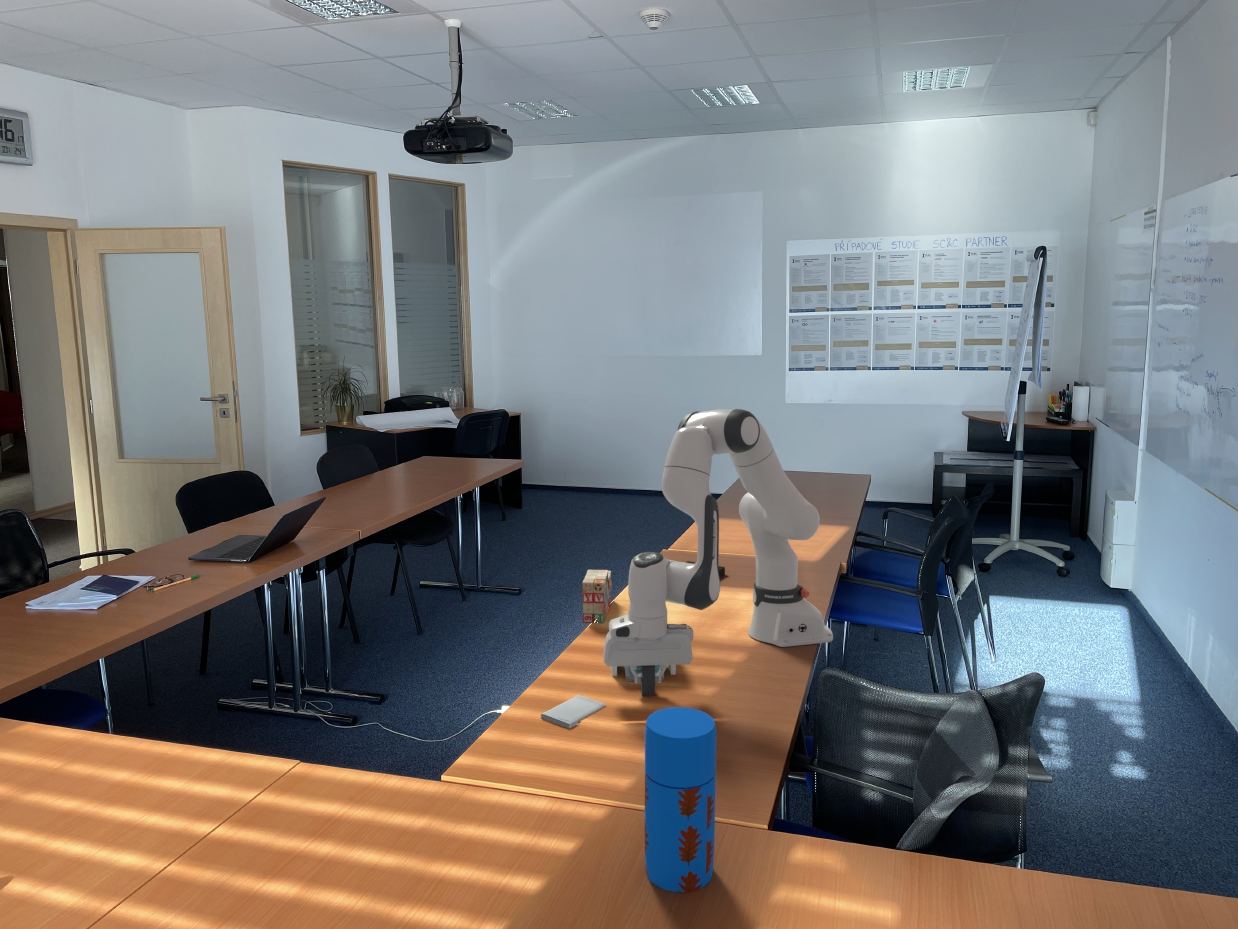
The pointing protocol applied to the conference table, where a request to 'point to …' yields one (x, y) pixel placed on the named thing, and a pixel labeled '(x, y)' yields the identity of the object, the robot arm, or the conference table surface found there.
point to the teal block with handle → (644, 678)
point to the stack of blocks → (596, 595)
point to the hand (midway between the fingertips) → (647, 682)
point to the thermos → (680, 798)
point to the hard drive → (572, 711)
